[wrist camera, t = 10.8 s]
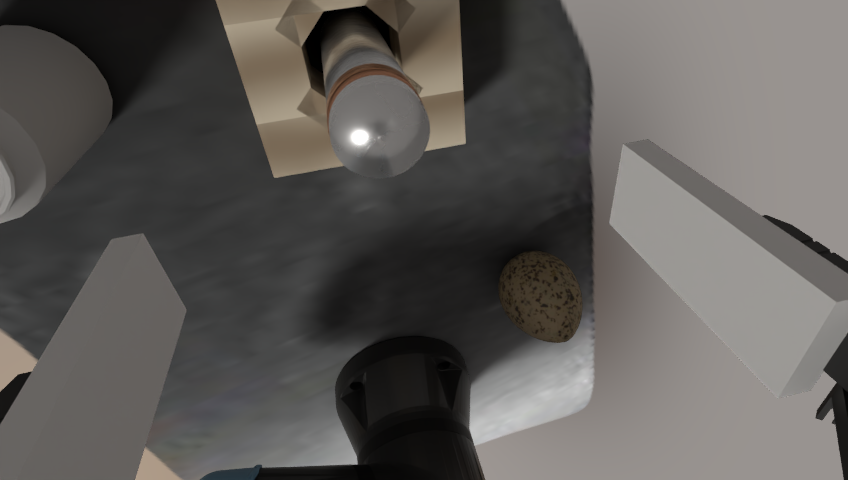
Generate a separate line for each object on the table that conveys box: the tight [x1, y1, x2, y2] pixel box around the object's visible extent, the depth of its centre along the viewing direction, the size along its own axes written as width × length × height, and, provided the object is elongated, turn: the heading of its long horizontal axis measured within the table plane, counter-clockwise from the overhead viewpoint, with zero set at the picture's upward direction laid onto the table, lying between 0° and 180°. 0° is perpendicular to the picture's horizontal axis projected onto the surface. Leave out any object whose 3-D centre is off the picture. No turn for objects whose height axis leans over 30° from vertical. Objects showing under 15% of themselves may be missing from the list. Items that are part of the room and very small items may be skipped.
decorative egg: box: [498, 251, 582, 343], centre depth 42 cm, size 7×7×10 cm
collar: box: [216, 0, 466, 178], centre depth 29 cm, size 13×13×5 cm
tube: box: [320, 8, 430, 179], centre depth 25 cm, size 4×4×16 cm
